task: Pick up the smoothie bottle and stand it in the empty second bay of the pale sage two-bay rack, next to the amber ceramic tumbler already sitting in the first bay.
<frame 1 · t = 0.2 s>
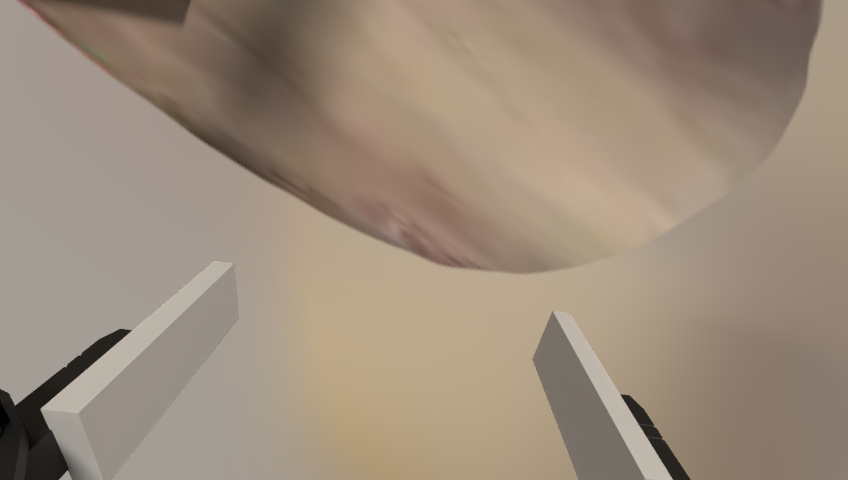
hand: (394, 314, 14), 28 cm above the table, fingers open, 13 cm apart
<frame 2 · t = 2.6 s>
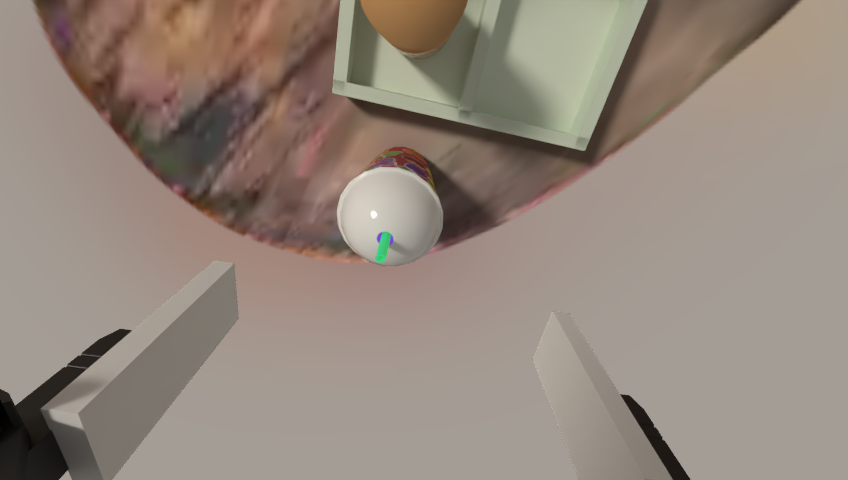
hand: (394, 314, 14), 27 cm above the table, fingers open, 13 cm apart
smoothie: (401, 174, 39), on the table
amber tumbler: (418, 20, 32), point 1 cm above the table, touching rack
rack: (479, 37, 33), on the table
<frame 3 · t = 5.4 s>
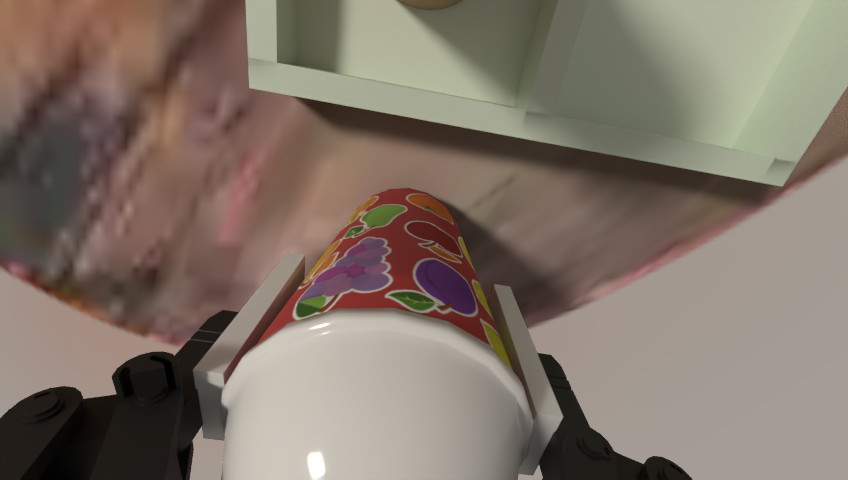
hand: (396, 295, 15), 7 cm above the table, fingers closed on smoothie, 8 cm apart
smoothie: (405, 232, 22), on the table, touching gripper
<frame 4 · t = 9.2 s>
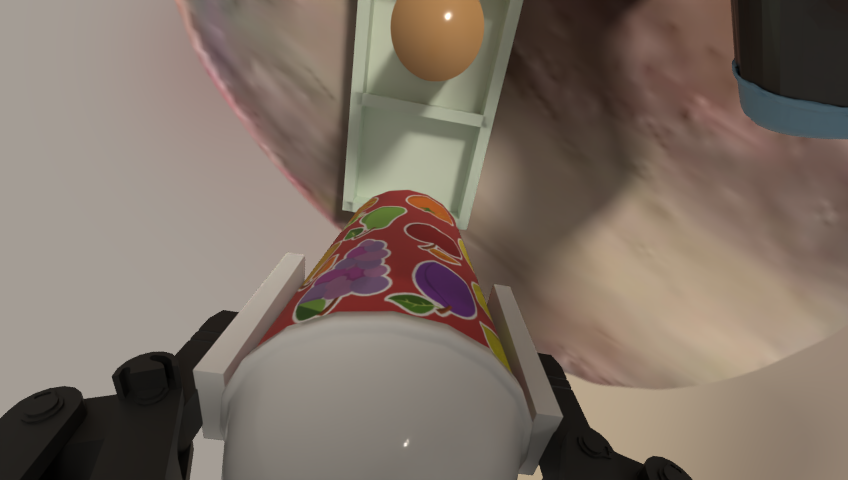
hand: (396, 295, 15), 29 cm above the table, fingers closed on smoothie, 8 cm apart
smoothie: (405, 233, 22), point 22 cm above the table, touching gripper
amber tumbler: (432, 47, 36), point 1 cm above the table, touching rack
rack: (423, 108, 39), on the table
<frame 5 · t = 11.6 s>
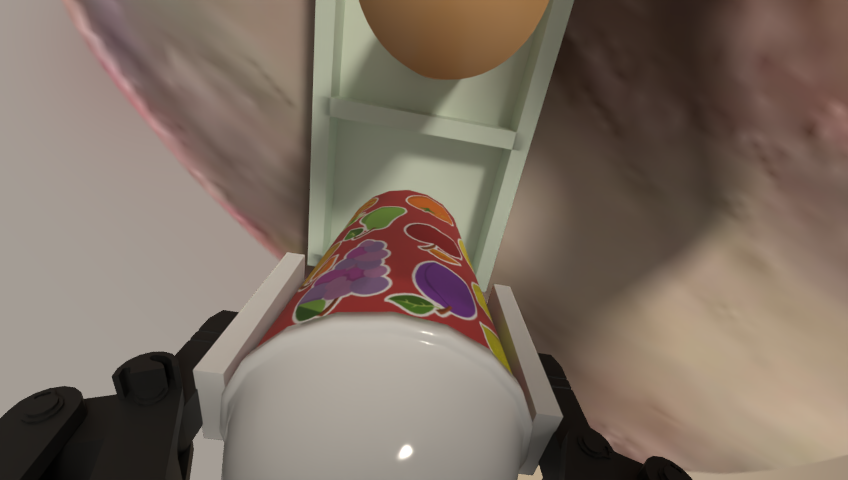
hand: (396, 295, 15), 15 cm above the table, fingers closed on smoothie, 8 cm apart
smoothie: (405, 233, 22), point 8 cm above the table, touching gripper
amber tumbler: (439, 28, 23), point 1 cm above the table, touching rack
rack: (424, 119, 27), on the table
when the fingers open (9 cm above the table, at t = 13.4 s): smoothie drops 1 cm, resting on rack.
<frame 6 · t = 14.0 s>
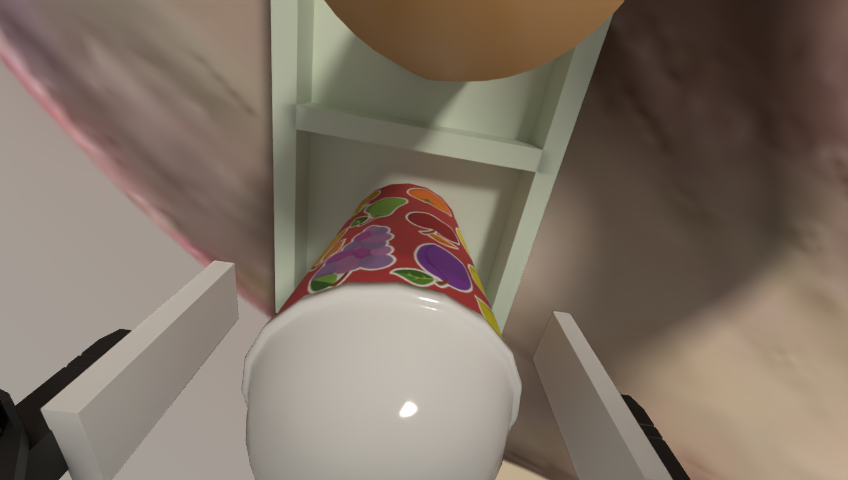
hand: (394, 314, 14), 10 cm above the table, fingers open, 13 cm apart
smoothie: (405, 225, 23), point 1 cm above the table, touching rack
amber tumbler: (441, 12, 17), point 1 cm above the table, touching rack
rack: (421, 130, 21), on the table
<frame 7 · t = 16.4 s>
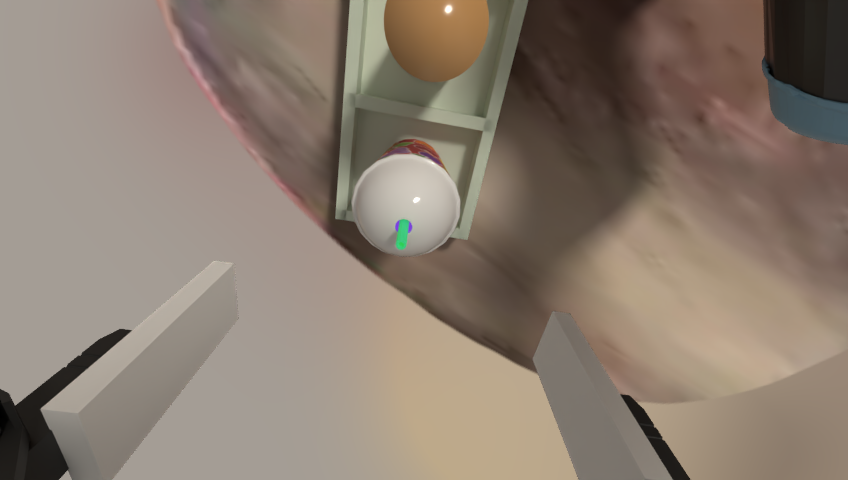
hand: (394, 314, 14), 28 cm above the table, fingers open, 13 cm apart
smoothie: (412, 167, 39), point 1 cm above the table, touching rack
amber tumbler: (431, 45, 33), point 1 cm above the table, touching rack
rack: (421, 110, 37), on the table
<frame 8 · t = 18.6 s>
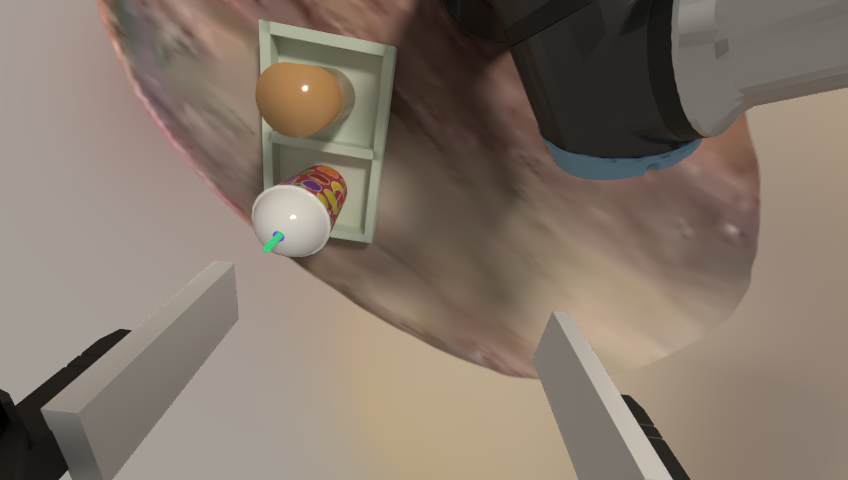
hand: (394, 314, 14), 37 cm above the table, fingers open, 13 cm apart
smoothie: (326, 186, 49), point 1 cm above the table, touching rack
amber tumbler: (330, 95, 43), point 1 cm above the table, touching rack
rack: (329, 142, 47), on the table
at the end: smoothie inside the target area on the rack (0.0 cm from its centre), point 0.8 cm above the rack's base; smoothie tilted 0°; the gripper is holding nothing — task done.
